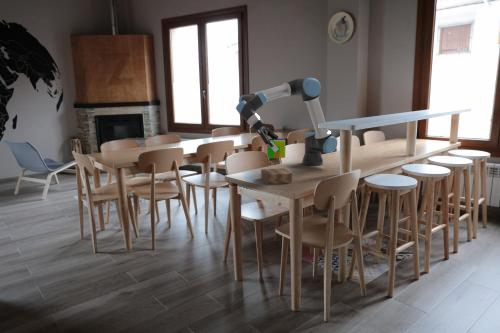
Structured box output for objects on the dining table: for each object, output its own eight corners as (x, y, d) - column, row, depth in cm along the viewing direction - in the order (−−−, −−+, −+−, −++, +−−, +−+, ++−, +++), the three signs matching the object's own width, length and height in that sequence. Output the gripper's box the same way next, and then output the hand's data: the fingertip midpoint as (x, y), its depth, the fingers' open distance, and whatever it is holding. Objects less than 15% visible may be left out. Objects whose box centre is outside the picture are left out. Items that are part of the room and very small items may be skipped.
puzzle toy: (283, 154, 242) (284, 138, 240) (285, 157, 232) (285, 141, 230) (267, 154, 242) (267, 138, 240) (268, 157, 232) (268, 141, 230)
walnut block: (284, 177, 249) (284, 168, 248) (291, 183, 234) (291, 173, 233) (261, 178, 246) (261, 169, 245) (267, 184, 231) (267, 174, 230)
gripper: (258, 125, 250) (281, 149, 248) (244, 129, 227) (269, 156, 225) (266, 116, 247) (289, 142, 245) (253, 120, 225) (278, 147, 222)
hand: (280, 149), depth 235 cm, fingers closed on puzzle toy, 12 cm apart
